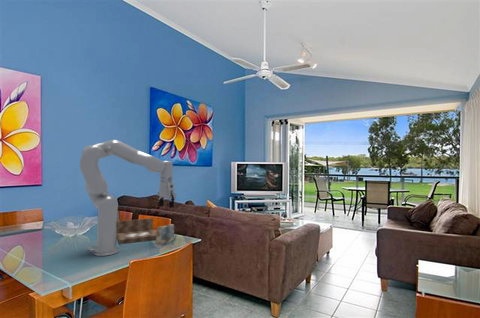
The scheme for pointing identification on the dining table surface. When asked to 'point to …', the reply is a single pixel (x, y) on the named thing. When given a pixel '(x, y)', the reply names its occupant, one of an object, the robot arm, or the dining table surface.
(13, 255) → the dining table surface
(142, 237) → the walnut ledge
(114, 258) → the dining table surface
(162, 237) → the picture frame
